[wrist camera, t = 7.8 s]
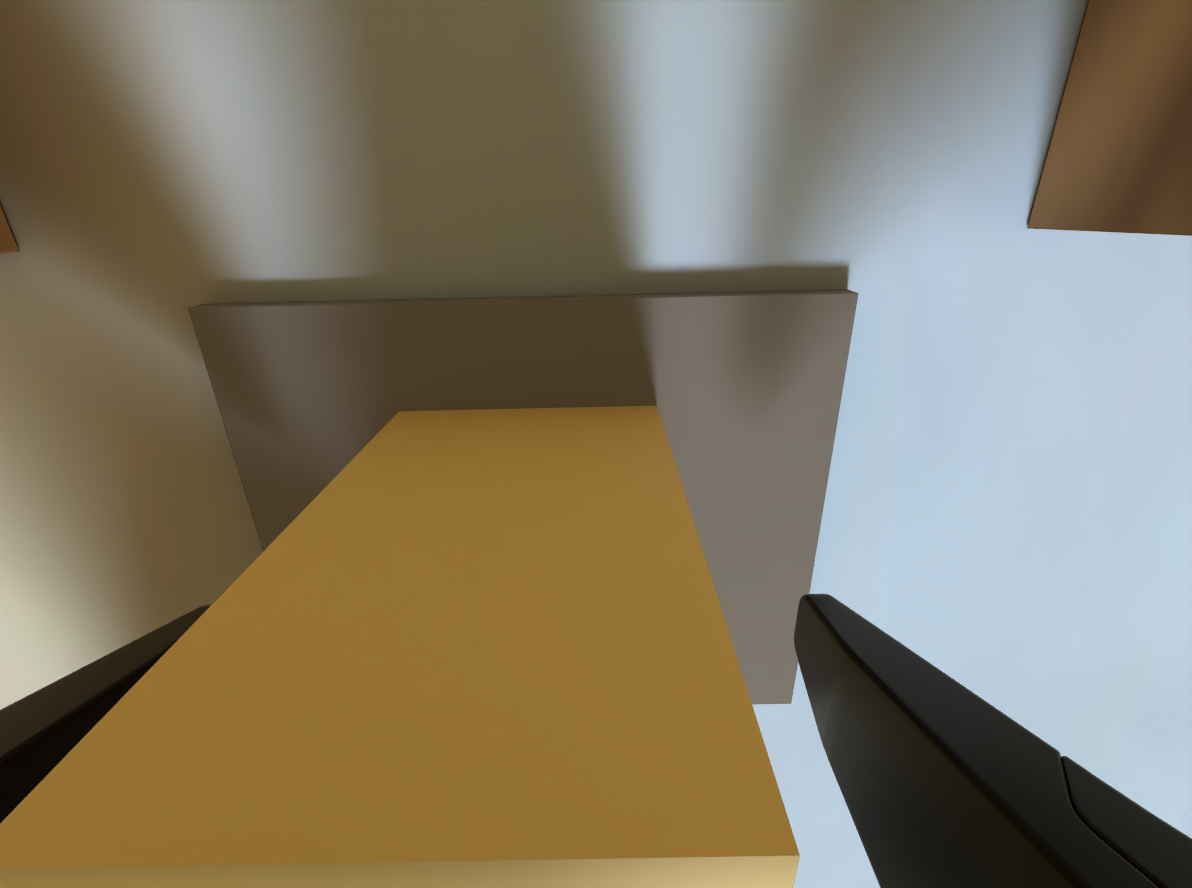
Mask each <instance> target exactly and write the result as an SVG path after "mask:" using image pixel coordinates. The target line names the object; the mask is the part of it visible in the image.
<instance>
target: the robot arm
mask: <svg viewBox="0 0 1192 888" xmlns="http://www.w3.org/2000/svg"><path fill="white" fill-rule="evenodd" d="M210 606H211V605H205V606H201V607H199V608H197V609H195V610H193V611H191V612H189V613H187V614H185V615H183V616H181V617H179V618H178V619H176V620H174V621H172V622H170V623H168V624H166V625H164V626H162V627H160V628H158V629H156V630H154V631H152V632H150V633H148V634H147V635H145V636H143V637H141V638H139V639H137V640H135V641H133V642H131V643H129V644H127V645H125V646H123V647H121V648H119V649H118V650H116V651H114V652H112V653H110V654H108V655H106V656H104V657H102V658H100V659H98V660H96V661H94V662H92V663H90V664H88V665H87V666H85V667H83V668H81V669H79V670H77V671H75V672H73V673H71V674H69V675H67V676H65V677H63V678H61V679H59V680H57V681H56V682H54V683H52V684H50V685H48V686H46V687H44V688H42V689H40V690H38V691H36V692H34V693H32V694H30V695H28V696H26V697H25V698H23V699H21V700H19V701H17V702H15V703H13V704H11V705H9V706H7V707H5V708H3V709H1V710H0V823H1V822H2V821H3V820H4V819H5V818H6V817H7V816H8V815H9V814H10V813H11V812H12V811H13V810H14V809H15V808H16V807H17V806H18V805H19V804H20V803H21V802H22V801H23V800H24V799H25V798H26V797H27V796H28V794H29V793H30V792H31V791H32V790H33V789H34V788H35V787H36V786H37V785H38V784H39V783H40V782H41V781H42V780H43V779H44V778H45V777H46V776H47V775H48V774H49V773H50V772H51V771H52V770H53V769H54V768H55V767H56V766H57V765H58V763H59V762H60V761H61V760H62V759H63V758H64V757H65V756H66V755H67V754H68V753H69V752H70V751H71V750H72V749H73V748H74V747H75V746H76V745H77V744H78V743H79V742H80V741H81V740H82V739H83V738H84V737H85V736H86V735H87V733H88V732H89V731H90V730H91V729H92V728H93V727H94V726H95V725H96V724H97V723H98V722H99V721H100V720H101V719H102V718H103V717H104V716H105V715H106V714H107V713H108V712H109V711H110V710H111V709H112V708H113V707H114V706H115V705H116V703H117V702H118V701H119V700H120V699H121V698H122V697H123V696H124V695H125V694H126V693H127V692H128V691H129V690H130V689H131V688H132V687H133V686H134V685H135V684H136V683H137V682H138V681H139V680H140V679H141V678H142V677H143V676H144V675H145V674H146V672H147V671H148V670H149V669H150V668H151V667H152V666H153V665H154V664H155V663H156V662H157V661H158V660H159V659H160V658H161V657H162V656H163V655H164V654H165V653H166V652H167V651H168V650H169V649H170V648H171V647H172V646H173V645H174V644H175V642H176V641H177V640H178V639H179V638H180V637H181V636H182V635H183V634H184V633H185V632H186V631H187V630H188V629H189V628H190V627H191V626H192V625H193V624H194V623H195V622H196V621H197V620H198V619H199V618H200V617H201V616H202V615H203V614H204V612H205V611H206V610H207V609H208V608H209V607H210ZM794 646H795V651H796V655H797V658H798V662H799V665H800V669H801V672H802V676H803V679H804V683H805V686H806V689H807V693H808V696H809V700H810V703H811V707H812V710H813V714H814V717H815V721H816V724H817V728H818V731H819V734H820V737H821V741H822V744H823V747H824V749H825V752H826V754H827V757H828V760H829V762H830V765H831V767H832V770H833V772H834V775H835V777H836V780H837V782H838V784H839V787H840V789H841V792H842V794H843V797H844V799H845V802H846V804H847V807H848V809H849V812H850V814H851V816H852V819H853V821H854V824H855V826H856V829H857V831H858V834H859V836H860V839H861V841H862V843H863V846H864V848H865V851H866V853H867V856H868V858H869V861H870V863H871V866H872V868H873V870H874V873H875V875H876V878H877V880H878V883H879V885H880V888H1192V839H1191V838H1190V837H1188V836H1187V835H1185V834H1183V833H1182V832H1180V831H1179V830H1177V829H1175V828H1174V827H1172V826H1171V825H1169V824H1168V823H1166V822H1164V821H1163V820H1161V819H1160V818H1158V817H1156V816H1155V815H1153V814H1152V813H1150V812H1149V811H1147V810H1146V809H1144V808H1143V807H1141V806H1140V805H1138V804H1137V803H1135V802H1134V801H1132V800H1131V799H1129V798H1128V797H1126V796H1125V795H1123V794H1122V793H1120V792H1119V791H1117V790H1116V789H1114V788H1113V787H1111V786H1110V785H1108V784H1106V783H1105V782H1103V781H1102V780H1100V779H1099V778H1098V777H1096V776H1095V775H1093V774H1092V773H1090V772H1089V771H1087V770H1086V769H1084V768H1083V767H1081V766H1080V765H1078V764H1077V763H1076V762H1074V761H1073V760H1071V759H1070V758H1068V757H1066V756H1062V757H1061V756H1060V753H1059V751H1058V750H1056V749H1055V748H1053V747H1052V746H1050V745H1049V744H1047V743H1046V742H1044V741H1043V740H1042V739H1040V738H1039V737H1037V736H1036V735H1034V734H1033V733H1031V732H1030V731H1028V730H1027V729H1025V728H1024V727H1023V726H1021V725H1020V724H1018V723H1017V722H1015V721H1014V720H1012V719H1011V718H1009V717H1008V716H1006V715H1005V714H1003V713H1002V712H1001V711H999V710H998V709H996V708H995V707H993V706H992V705H990V704H989V703H987V702H986V701H984V700H983V699H982V698H980V697H979V696H977V695H976V694H974V693H973V692H971V691H970V690H968V689H967V688H965V687H964V686H963V685H961V684H960V683H958V682H957V681H955V680H954V679H952V678H951V677H949V676H948V675H946V674H945V673H943V672H942V671H941V670H939V669H938V668H936V667H935V666H933V665H932V664H930V663H929V662H927V661H926V660H924V659H923V658H922V657H920V656H919V655H917V654H916V653H914V652H913V651H911V650H910V649H908V648H907V647H905V646H904V645H902V644H901V643H900V642H898V641H897V640H895V639H894V638H892V637H891V636H889V635H888V634H886V633H885V632H883V631H882V630H881V629H879V628H878V627H876V626H875V625H873V624H872V623H870V622H869V621H867V620H866V619H864V618H863V617H862V616H860V615H859V614H857V613H856V612H854V611H853V610H851V609H850V608H848V607H847V606H845V605H844V604H842V603H841V602H840V601H838V600H837V599H835V598H834V597H832V596H830V595H828V594H805V595H803V596H802V597H801V599H800V601H799V605H798V612H797V618H796V625H795V631H794Z"/></svg>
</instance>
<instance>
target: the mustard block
mask: <svg viewBox="0 0 1192 888" xmlns="http://www.w3.org/2000/svg"><path fill="white" fill-rule="evenodd" d="M799 857H800V855H799V852H798V848H797V845H796V842H795V839H794V836H793V833H792V829H791V826H790V823H789V820H788V817H787V814H786V811H785V807H784V804H783V801H782V798H781V795H780V792H779V788H778V785H777V782H776V779H775V776H774V773H773V770H772V766H771V763H770V760H769V757H768V754H767V751H766V747H765V744H764V741H763V738H762V735H761V732H760V729H759V725H758V722H757V719H756V716H755V713H754V710H753V706H752V703H751V700H750V697H749V694H748V691H747V688H746V684H745V681H744V678H743V675H742V672H741V669H740V666H739V662H738V659H737V656H736V653H735V650H734V647H733V643H732V640H731V637H730V634H729V631H728V628H727V625H726V621H725V618H724V615H723V612H722V609H721V606H720V602H719V599H718V596H717V593H716V590H715V587H714V584H713V580H712V577H711V574H710V571H709V568H708V565H707V561H706V558H705V555H704V552H703V549H702V546H701V543H700V539H699V536H698V533H697V530H696V527H695V524H694V521H693V517H692V514H691V511H690V508H689V505H688V502H687V498H686V495H685V492H684V489H683V486H682V483H681V480H680V476H679V473H678V470H677V467H676V464H675V461H674V457H673V454H672V451H671V448H670V445H669V442H668V439H667V435H666V432H665V429H664V426H663V423H662V420H661V416H660V413H659V410H658V407H657V406H616V407H571V408H527V409H482V410H437V411H399V412H398V413H397V414H396V415H395V416H394V417H393V418H392V419H391V420H390V421H389V422H388V423H387V424H386V425H385V426H384V427H383V428H382V429H381V431H380V432H379V433H378V434H377V435H376V436H375V437H374V438H373V439H372V440H371V441H370V442H369V443H368V444H367V445H366V446H365V447H364V448H363V449H362V450H361V451H360V452H359V453H358V454H357V455H356V456H355V457H354V458H353V459H352V460H351V462H350V463H349V464H348V465H347V466H346V467H345V468H344V469H343V470H342V471H341V472H340V473H339V474H338V475H337V476H336V477H335V478H334V479H333V480H332V481H331V482H330V483H329V484H328V485H327V486H326V487H325V488H324V489H323V490H322V492H321V493H320V494H319V495H318V496H317V497H316V498H315V499H314V500H313V501H312V502H311V503H310V504H309V505H308V506H307V507H306V508H305V509H304V510H303V511H302V512H301V513H300V514H299V515H298V516H297V517H296V518H295V519H294V520H293V522H292V523H291V524H290V525H289V526H288V527H287V528H286V529H285V530H284V531H283V532H282V533H281V534H280V535H279V536H278V537H277V538H276V539H275V540H274V541H273V542H272V543H271V544H270V545H269V546H268V547H267V548H266V549H265V550H264V551H263V553H262V554H261V555H260V556H259V557H258V558H257V559H256V560H255V561H254V562H253V563H252V564H251V565H250V566H249V567H248V568H247V569H246V570H245V571H244V572H243V573H242V574H241V575H240V576H239V577H238V578H237V579H236V580H235V581H234V583H233V584H232V585H231V586H230V587H229V588H228V589H227V590H226V591H225V592H224V593H223V594H222V595H221V596H220V597H219V598H218V599H217V600H216V601H215V602H214V603H213V604H212V605H211V606H210V607H209V608H208V609H207V610H206V611H205V612H204V614H203V615H202V616H201V617H200V618H199V619H198V620H197V621H196V622H195V623H194V624H193V625H192V626H191V627H190V628H189V629H188V630H187V631H186V632H185V633H184V634H183V635H182V636H181V637H180V638H179V639H178V640H177V641H176V642H175V644H174V645H173V646H172V647H171V648H170V649H169V650H168V651H167V652H166V653H165V654H164V655H163V656H162V657H161V658H160V659H159V660H158V661H157V662H156V663H155V664H154V665H153V666H152V667H151V668H150V669H149V670H148V671H147V672H146V674H145V675H144V676H143V677H142V678H141V679H140V680H139V681H138V682H137V683H136V684H135V685H134V686H133V687H132V688H131V689H130V690H129V691H128V692H127V693H126V694H125V695H124V696H123V697H122V698H121V699H120V700H119V701H118V702H117V703H116V705H115V706H114V707H113V708H112V709H111V710H110V711H109V712H108V713H107V714H106V715H105V716H104V717H103V718H102V719H101V720H100V721H99V722H98V723H97V724H96V725H95V726H94V727H93V728H92V729H91V730H90V731H89V732H88V733H87V735H86V736H85V737H84V738H83V739H82V740H81V741H80V742H79V743H78V744H77V745H76V746H75V747H74V748H73V749H72V750H71V751H70V752H69V753H68V754H67V755H66V756H65V757H64V758H63V759H62V760H61V761H60V762H59V763H58V765H57V766H56V767H55V768H54V769H53V770H52V771H51V772H50V773H49V774H48V775H47V776H46V777H45V778H44V779H43V780H42V781H41V782H40V783H39V784H38V785H37V786H36V787H35V788H34V789H33V790H32V791H31V792H30V793H29V794H28V796H27V797H26V798H25V799H24V800H23V801H22V802H21V803H20V804H19V805H18V806H17V807H16V808H15V809H14V810H13V811H12V812H11V813H10V814H9V815H8V816H7V817H6V818H5V819H4V820H3V821H2V822H1V823H0V888H793V887H794V882H795V877H796V872H797V867H798V862H799Z"/></svg>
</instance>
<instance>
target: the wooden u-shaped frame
mask: <svg viewBox="0 0 1192 888" xmlns="http://www.w3.org/2000/svg"><path fill="white" fill-rule="evenodd" d="M1028 228H1034V229H1056V230H1079V231H1101V232H1124V233H1146V234H1169V235H1191V236H1192V0H1089V3H1088V7H1087V10H1086V14H1085V18H1084V21H1083V25H1082V29H1081V33H1080V36H1079V40H1078V44H1077V47H1076V51H1075V55H1074V58H1073V62H1072V66H1071V69H1070V73H1069V77H1068V81H1067V84H1066V88H1065V92H1064V95H1063V99H1062V103H1061V106H1060V110H1059V114H1058V118H1057V121H1056V125H1055V129H1054V132H1053V136H1052V140H1051V143H1050V147H1049V151H1048V154H1047V158H1046V162H1045V166H1044V169H1043V173H1042V177H1041V180H1040V184H1039V188H1038V191H1037V195H1036V199H1035V203H1034V206H1033V210H1032V214H1031V217H1030V221H1029V225H1028ZM16 251H19V250H18V247H17V245H16V243H15V240H14V238H13V235H12V233H11V231H10V228H9V226H8V223H7V221H6V218H5V216H4V214H3V211H2V209H1V206H0V253H2V252H16Z"/></svg>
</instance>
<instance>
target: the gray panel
mask: <svg viewBox="0 0 1192 888" xmlns="http://www.w3.org/2000/svg"><path fill="white" fill-rule="evenodd" d="M857 298H858V293H856V292H853V291H850V290H830V291H785V292H740V293H695V294H650V295H605V296H559V297H514V298H469V299H424V300H379V301H334V302H289V303H244V304H202V305H198V306H194V307H190V308H188V310H189V313H190V316H191V320H192V323H193V326H194V329H195V332H196V336H197V339H198V342H199V345H200V348H201V352H202V355H203V358H204V361H205V365H206V368H207V371H208V374H209V377H210V381H211V384H212V387H213V390H214V393H215V397H216V400H217V403H218V406H219V410H220V413H221V416H222V419H223V422H224V426H225V429H226V432H227V435H228V438H229V442H230V445H231V448H232V451H233V455H234V458H235V461H236V464H237V467H238V471H239V474H240V477H241V480H242V483H243V487H244V490H245V493H246V496H247V500H248V503H249V506H250V509H251V512H252V516H253V519H254V522H255V525H256V528H257V532H258V535H259V538H260V541H261V545H262V548H263V551H264V550H265V549H266V548H267V547H268V546H269V545H270V544H271V543H272V542H273V541H274V540H275V539H276V538H277V537H278V536H279V535H280V534H281V533H282V532H283V531H284V530H285V529H286V528H287V527H288V526H289V525H290V524H291V523H292V522H293V520H294V519H295V518H296V517H297V516H298V515H299V514H300V513H301V512H302V511H303V510H304V509H305V508H306V507H307V506H308V505H309V504H310V503H311V502H312V501H313V500H314V499H315V498H316V497H317V496H318V495H319V494H320V493H321V492H322V490H323V489H324V488H325V487H326V486H327V485H328V484H329V483H330V482H331V481H332V480H333V479H334V478H335V477H336V476H337V475H338V474H339V473H340V472H341V471H342V470H343V469H344V468H345V467H346V466H347V465H348V464H349V463H350V462H351V460H352V459H353V458H354V457H355V456H356V455H357V454H358V453H359V452H360V451H361V450H362V449H363V448H364V447H365V446H366V445H367V444H368V443H369V442H370V441H371V440H372V439H373V438H374V437H375V436H376V435H377V434H378V433H379V432H380V431H381V429H382V428H383V427H384V426H385V425H386V424H387V423H388V422H389V421H390V420H391V419H392V418H393V417H394V416H395V415H396V414H397V413H398V412H399V411H437V410H482V409H527V408H571V407H616V406H657V407H658V410H659V413H660V416H661V420H662V423H663V426H664V429H665V432H666V435H667V439H668V442H669V445H670V448H671V451H672V454H673V457H674V461H675V464H676V467H677V470H678V473H679V476H680V480H681V483H682V486H683V489H684V492H685V495H686V498H687V502H688V505H689V508H690V511H691V514H692V517H693V521H694V524H695V527H696V530H697V533H698V536H699V539H700V543H701V546H702V549H703V552H704V555H705V558H706V561H707V565H708V568H709V571H710V574H711V577H712V580H713V584H714V587H715V590H716V593H717V596H718V599H719V602H720V606H721V609H722V612H723V615H724V618H725V621H726V625H727V628H728V631H729V634H730V637H731V640H732V643H733V647H734V650H735V653H736V656H737V659H738V662H739V666H740V669H741V672H742V675H743V678H744V681H745V684H746V688H747V691H748V694H749V697H750V700H751V703H752V704H791V701H792V695H793V689H794V683H795V677H796V670H797V664H798V658H797V655H796V651H795V646H794V631H795V625H796V618H797V612H798V605H799V601H800V599H801V597H802V596H803V595H805V594H809V591H810V585H811V579H812V573H813V567H814V561H815V554H816V548H817V542H818V536H819V530H820V524H821V518H822V512H823V506H824V500H825V493H826V487H827V481H828V475H829V469H830V463H831V457H832V451H833V445H834V439H835V432H836V426H837V420H838V414H839V408H840V402H841V396H842V390H843V384H844V377H845V371H846V365H847V359H848V353H849V347H850V341H851V335H852V329H853V323H854V316H855V310H856V304H857Z"/></svg>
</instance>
